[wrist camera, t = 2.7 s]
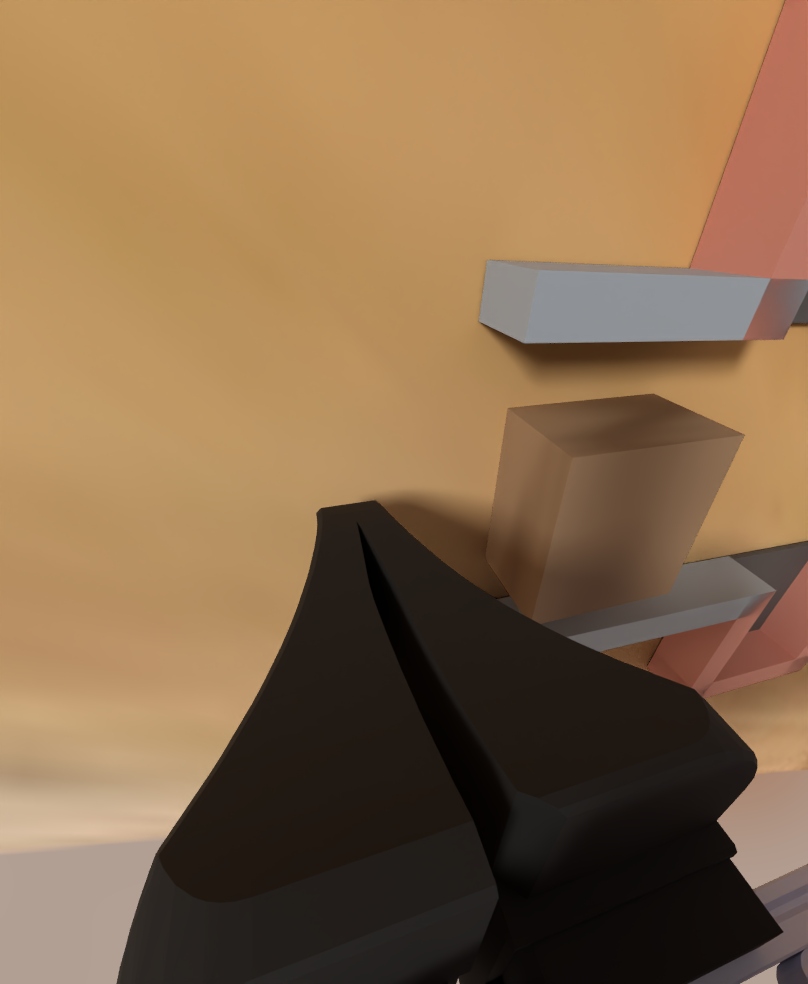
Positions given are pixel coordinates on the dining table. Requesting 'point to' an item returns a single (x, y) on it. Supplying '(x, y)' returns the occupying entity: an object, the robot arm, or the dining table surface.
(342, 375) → the dining table surface
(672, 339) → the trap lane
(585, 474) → the walnut block
